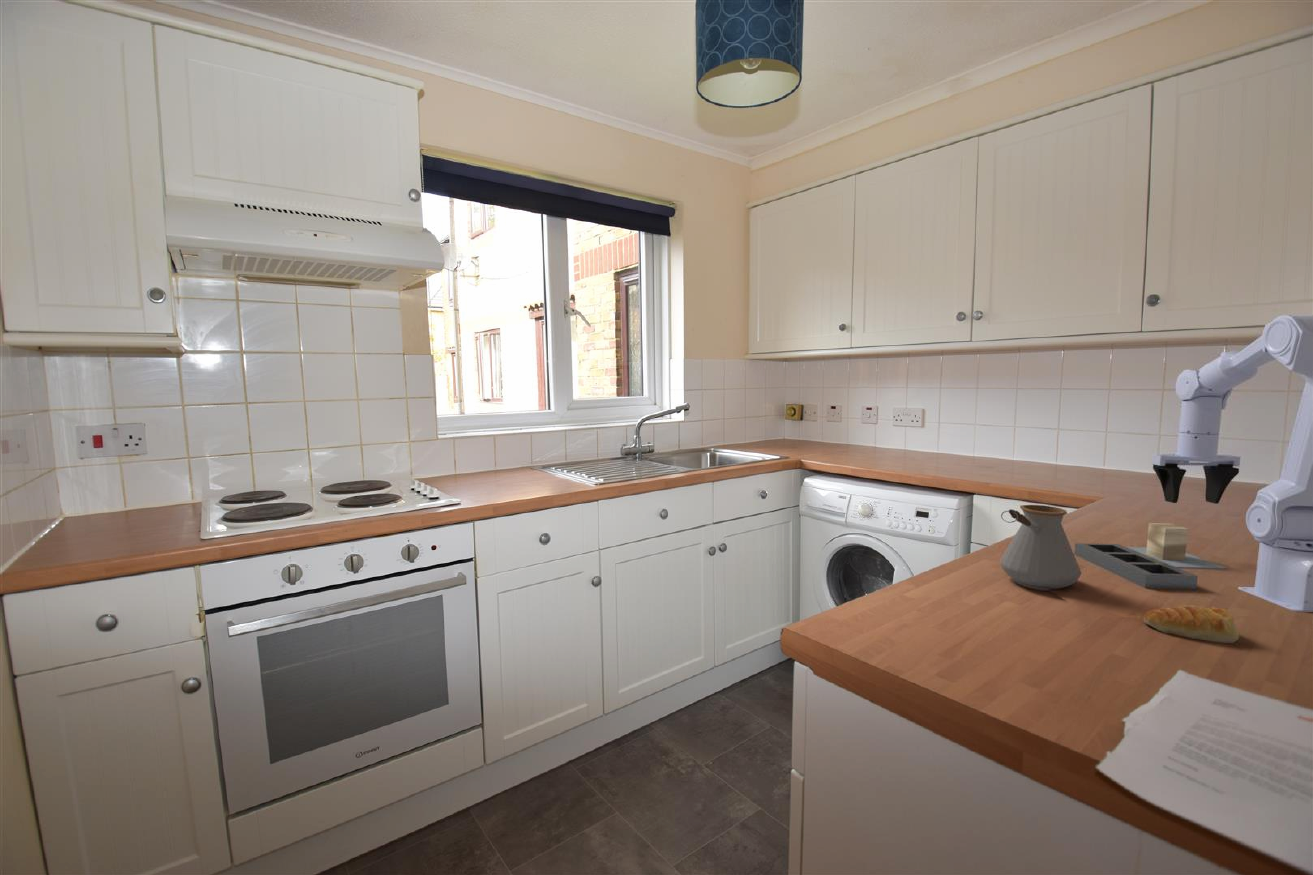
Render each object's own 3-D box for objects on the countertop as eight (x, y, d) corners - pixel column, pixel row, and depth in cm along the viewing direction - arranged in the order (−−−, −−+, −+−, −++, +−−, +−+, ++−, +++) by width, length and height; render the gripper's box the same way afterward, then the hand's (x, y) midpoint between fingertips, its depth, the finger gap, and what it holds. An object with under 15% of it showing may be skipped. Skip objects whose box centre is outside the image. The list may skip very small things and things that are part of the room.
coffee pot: (1013, 567, 108) (1019, 486, 106) (1088, 584, 99) (1096, 497, 97) (963, 595, 94) (968, 503, 92) (1045, 618, 85) (1053, 517, 84)
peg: (1184, 560, 110) (1188, 528, 109) (1162, 559, 110) (1165, 528, 109) (1167, 553, 114) (1170, 523, 113) (1146, 553, 114) (1148, 522, 113)
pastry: (1158, 638, 79) (1160, 610, 79) (1133, 618, 86) (1135, 593, 85) (1244, 647, 77) (1246, 619, 76) (1211, 626, 83) (1214, 600, 83)
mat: (1226, 570, 106) (1226, 567, 106) (1156, 569, 106) (1156, 566, 106) (1172, 550, 118) (1172, 547, 117) (1109, 549, 118) (1110, 546, 118)
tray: (1196, 591, 96) (1197, 575, 95) (1144, 590, 96) (1145, 574, 96) (1117, 557, 113) (1118, 544, 113) (1074, 556, 114) (1075, 543, 114)
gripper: (1220, 431, 116) (1212, 498, 118) (1143, 430, 117) (1137, 497, 119) (1253, 434, 109) (1245, 506, 111) (1171, 434, 110) (1164, 505, 112)
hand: (1191, 502), depth 114 cm, fingers open, 7 cm apart
